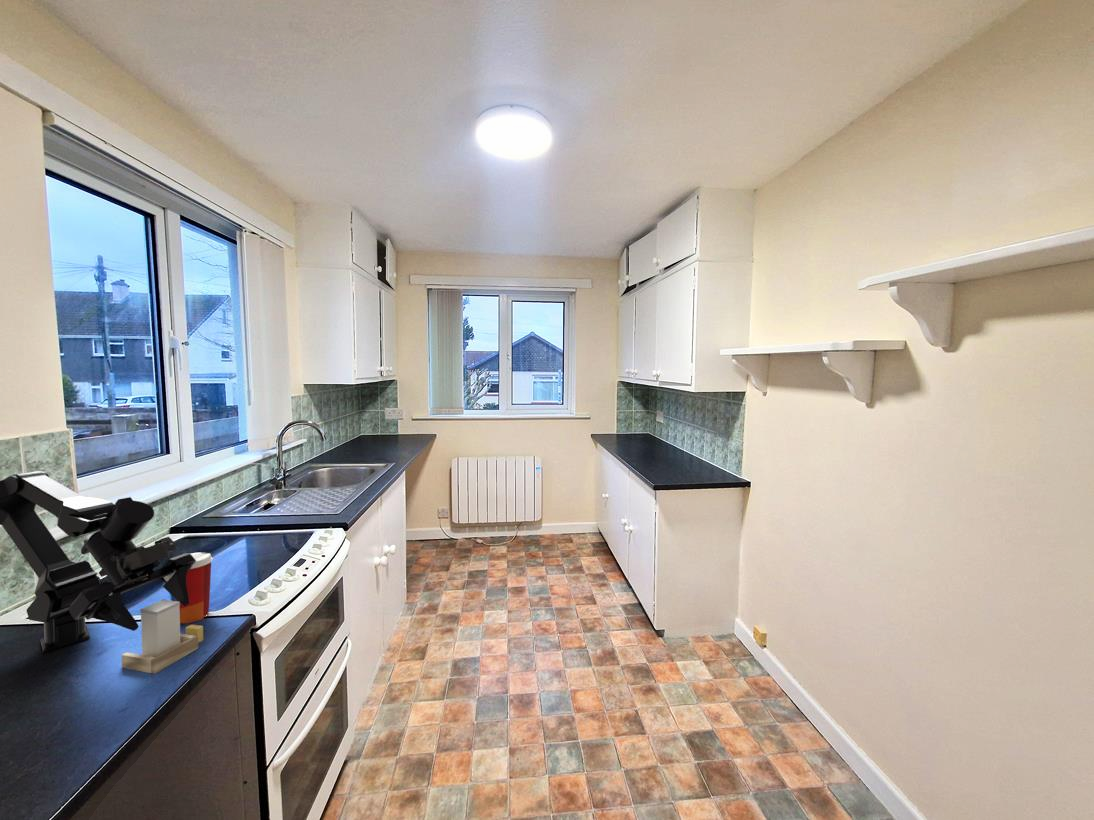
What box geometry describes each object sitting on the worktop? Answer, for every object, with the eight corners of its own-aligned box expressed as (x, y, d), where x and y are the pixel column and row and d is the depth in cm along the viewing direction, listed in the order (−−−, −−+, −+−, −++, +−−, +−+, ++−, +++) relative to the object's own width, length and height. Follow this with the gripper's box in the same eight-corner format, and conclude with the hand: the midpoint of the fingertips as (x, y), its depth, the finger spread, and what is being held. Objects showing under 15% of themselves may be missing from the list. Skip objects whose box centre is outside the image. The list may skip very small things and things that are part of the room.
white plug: (142, 662, 83) (140, 609, 82) (164, 650, 87) (163, 599, 86) (158, 665, 82) (157, 612, 82) (181, 653, 86) (179, 601, 86)
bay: (121, 667, 81) (121, 654, 81) (167, 643, 89) (167, 631, 89) (154, 673, 80) (154, 660, 80) (198, 648, 88) (197, 636, 88)
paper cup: (196, 607, 104) (194, 550, 103) (222, 610, 102) (221, 552, 102) (161, 624, 96) (159, 562, 96) (189, 628, 95) (187, 566, 94)
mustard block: (185, 641, 90) (185, 627, 90) (191, 638, 91) (191, 624, 91) (197, 643, 89) (197, 629, 89) (203, 640, 91) (202, 626, 90)
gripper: (78, 546, 75) (130, 615, 73) (188, 515, 93) (231, 571, 92) (47, 585, 77) (96, 654, 75) (160, 548, 95) (201, 602, 94)
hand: (163, 616), depth 84 cm, fingers open, 9 cm apart
